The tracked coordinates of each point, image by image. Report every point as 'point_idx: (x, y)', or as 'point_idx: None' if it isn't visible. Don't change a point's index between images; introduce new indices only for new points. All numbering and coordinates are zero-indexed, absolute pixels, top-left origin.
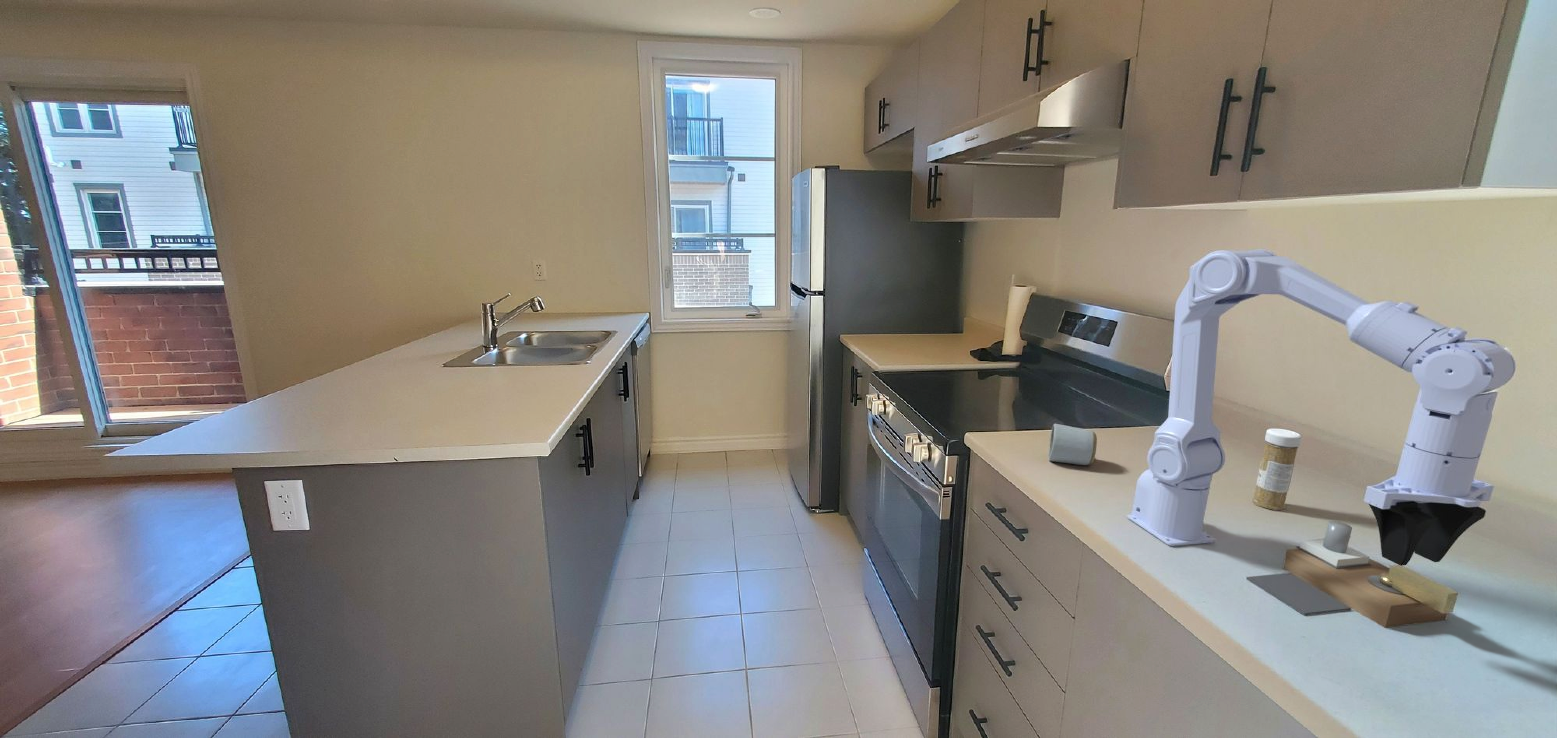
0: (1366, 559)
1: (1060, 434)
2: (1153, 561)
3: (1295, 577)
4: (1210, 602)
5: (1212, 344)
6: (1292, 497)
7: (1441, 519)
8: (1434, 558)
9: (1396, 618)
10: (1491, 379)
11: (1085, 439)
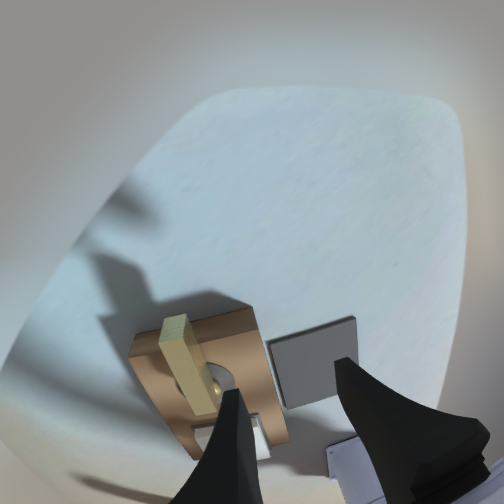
0: (199, 433)
1: None
2: (430, 387)
3: (290, 401)
4: (441, 319)
5: None
6: None
7: (251, 501)
8: (240, 396)
9: (234, 319)
10: None
11: None
